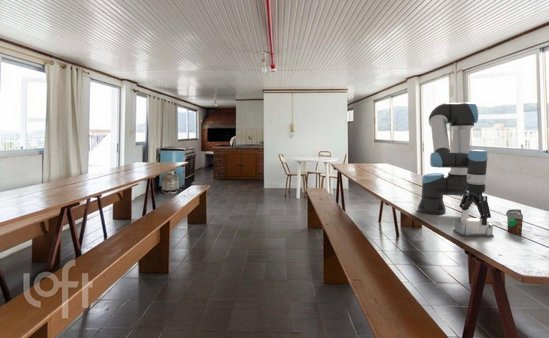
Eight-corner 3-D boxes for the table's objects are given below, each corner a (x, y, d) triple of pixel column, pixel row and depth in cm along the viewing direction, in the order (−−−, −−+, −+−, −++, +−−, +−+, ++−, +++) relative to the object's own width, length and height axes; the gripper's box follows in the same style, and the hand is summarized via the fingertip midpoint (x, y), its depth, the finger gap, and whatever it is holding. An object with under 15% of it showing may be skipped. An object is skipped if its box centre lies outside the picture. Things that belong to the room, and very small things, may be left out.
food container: (504, 227, 158) (505, 207, 157) (519, 229, 154) (521, 209, 153) (505, 233, 148) (506, 213, 146) (521, 236, 144) (523, 215, 143)
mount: (463, 237, 144) (464, 225, 143) (453, 230, 153) (453, 220, 152) (493, 236, 144) (494, 225, 143) (481, 230, 153) (482, 219, 152)
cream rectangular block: (465, 233, 146) (466, 221, 145) (460, 230, 151) (461, 218, 150) (488, 233, 145) (489, 221, 144) (482, 230, 150) (482, 218, 149)
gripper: (453, 179, 158) (451, 219, 160) (484, 187, 133) (481, 235, 136) (468, 179, 158) (465, 219, 160) (502, 187, 133) (499, 235, 135)
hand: (473, 227), depth 148 cm, fingers open, 13 cm apart
